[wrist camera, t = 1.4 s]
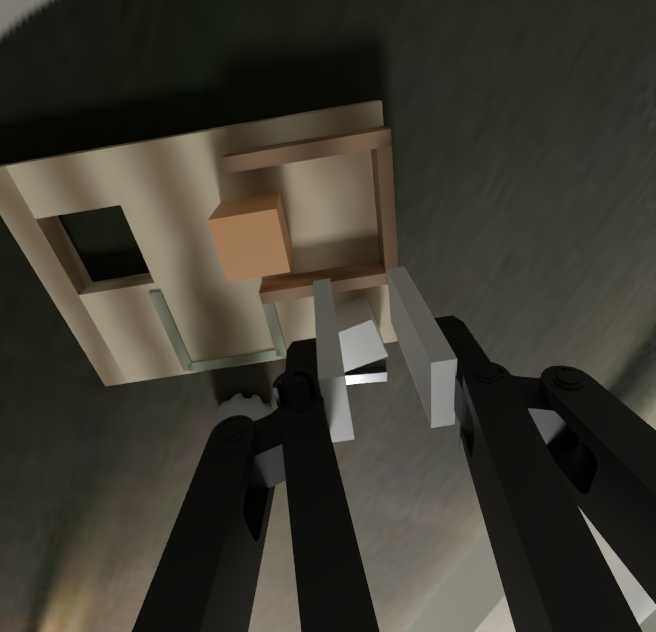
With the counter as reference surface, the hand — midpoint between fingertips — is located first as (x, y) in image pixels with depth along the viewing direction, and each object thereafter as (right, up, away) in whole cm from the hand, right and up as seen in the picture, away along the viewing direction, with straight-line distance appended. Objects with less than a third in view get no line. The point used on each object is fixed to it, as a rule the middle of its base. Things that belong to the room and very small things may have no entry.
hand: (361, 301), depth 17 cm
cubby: (-2, +7, +12) cm, 14 cm away
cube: (-7, +6, +12) cm, 15 cm away
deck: (-11, +4, +16) cm, 20 cm away
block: (+1, -1, +17) cm, 17 cm away
